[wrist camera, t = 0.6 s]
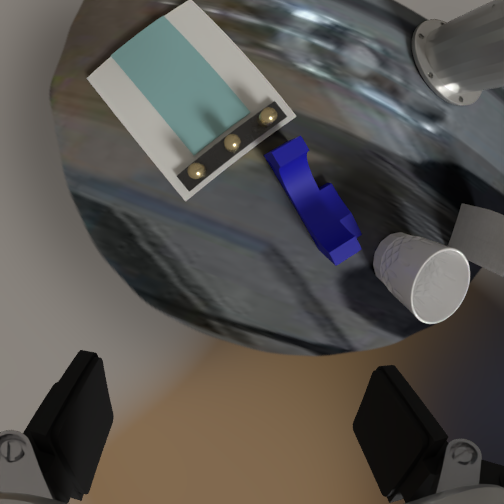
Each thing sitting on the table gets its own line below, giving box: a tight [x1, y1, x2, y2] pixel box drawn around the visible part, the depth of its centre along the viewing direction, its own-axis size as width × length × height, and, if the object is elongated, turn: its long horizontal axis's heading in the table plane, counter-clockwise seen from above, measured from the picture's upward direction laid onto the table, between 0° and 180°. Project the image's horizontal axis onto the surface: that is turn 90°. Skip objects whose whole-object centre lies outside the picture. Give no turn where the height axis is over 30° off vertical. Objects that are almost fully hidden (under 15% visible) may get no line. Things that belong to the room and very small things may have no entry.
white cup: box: [373, 232, 470, 324], centre depth 31 cm, size 8×8×10 cm
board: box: [87, 0, 296, 201], centre depth 28 cm, size 14×18×2 cm
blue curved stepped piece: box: [264, 136, 362, 265], centre depth 30 cm, size 12×4×6 cm, turn 31°
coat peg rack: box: [177, 101, 287, 192], centre depth 28 cm, size 12×2×4 cm, turn 128°
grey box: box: [448, 203, 504, 277], centre depth 31 cm, size 4×7×10 cm, turn 162°
